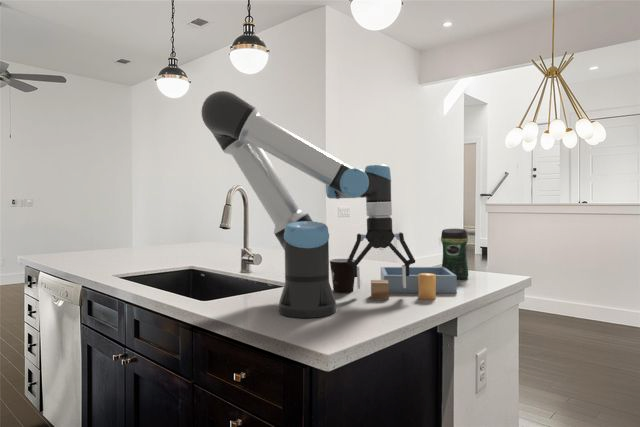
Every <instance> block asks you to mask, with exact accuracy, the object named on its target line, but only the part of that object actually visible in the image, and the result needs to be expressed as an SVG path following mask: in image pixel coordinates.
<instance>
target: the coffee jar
mask: <svg viewBox="0 0 640 427" xmlns="http://www.w3.org/2000/svg"><path fill="white" fill-rule="evenodd" d="M468 240H469V238H468V231H467V230H466V228H465V229H464V228H445V229H442V231H441V236H440V241H441V244H442V260H441V267H445V268H446V269H448V270H449V271H451V272H452V273H454V274H455V275H456V276H457V280H464V279H467V278H469V266H468V257H467V243H468Z"/></svg>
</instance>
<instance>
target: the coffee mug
mask: <svg viewBox="0 0 640 427" xmlns="http://www.w3.org/2000/svg"><path fill="white" fill-rule="evenodd" d="M347 260H348V258H333V259H329V267H330V274H331V281H332V282H331V284H332V292H333V293H337V294H349V293H350V294H351V293H353V292H354V287H355V286H354V285H355V278H356V277H354V276H353V267H352V266H351V265H348V264H347ZM355 260H356V258H353V260H352V261H355Z"/></svg>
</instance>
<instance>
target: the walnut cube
mask: <svg viewBox="0 0 640 427" xmlns="http://www.w3.org/2000/svg"><path fill="white" fill-rule="evenodd" d="M370 296H371V297H370V299H371V300H378V301H379V300H390V293H389V282H388V280H381V279H370Z"/></svg>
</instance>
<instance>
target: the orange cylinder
mask: <svg viewBox="0 0 640 427" xmlns="http://www.w3.org/2000/svg"><path fill="white" fill-rule="evenodd" d="M417 294H418V299H419V298H420V300H424V301H425V300H426V301H427V300H428V301H432V300H436V299H437V293H436V275H435V274H431V273H421V274H418V293H417Z"/></svg>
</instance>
